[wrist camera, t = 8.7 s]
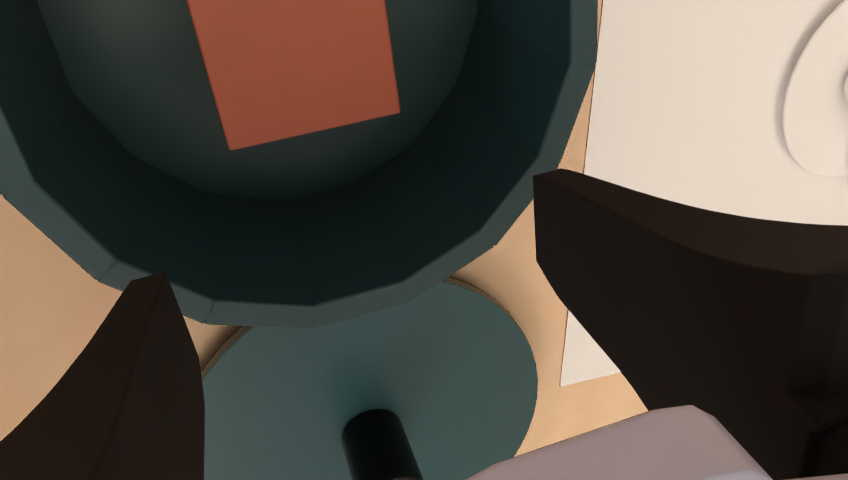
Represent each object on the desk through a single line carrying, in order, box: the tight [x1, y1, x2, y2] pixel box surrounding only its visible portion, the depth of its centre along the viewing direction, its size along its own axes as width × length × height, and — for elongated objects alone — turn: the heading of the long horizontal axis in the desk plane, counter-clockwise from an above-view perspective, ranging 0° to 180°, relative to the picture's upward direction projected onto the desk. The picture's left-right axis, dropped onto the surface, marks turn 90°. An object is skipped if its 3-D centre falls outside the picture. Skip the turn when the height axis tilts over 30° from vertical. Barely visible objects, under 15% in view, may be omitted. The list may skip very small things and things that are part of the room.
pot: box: [0, 0, 598, 329], centre depth 17 cm, size 13×13×6 cm
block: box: [186, 0, 400, 150], centre depth 18 cm, size 4×4×4 cm
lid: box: [201, 277, 538, 480], centre depth 26 cm, size 14×14×5 cm
